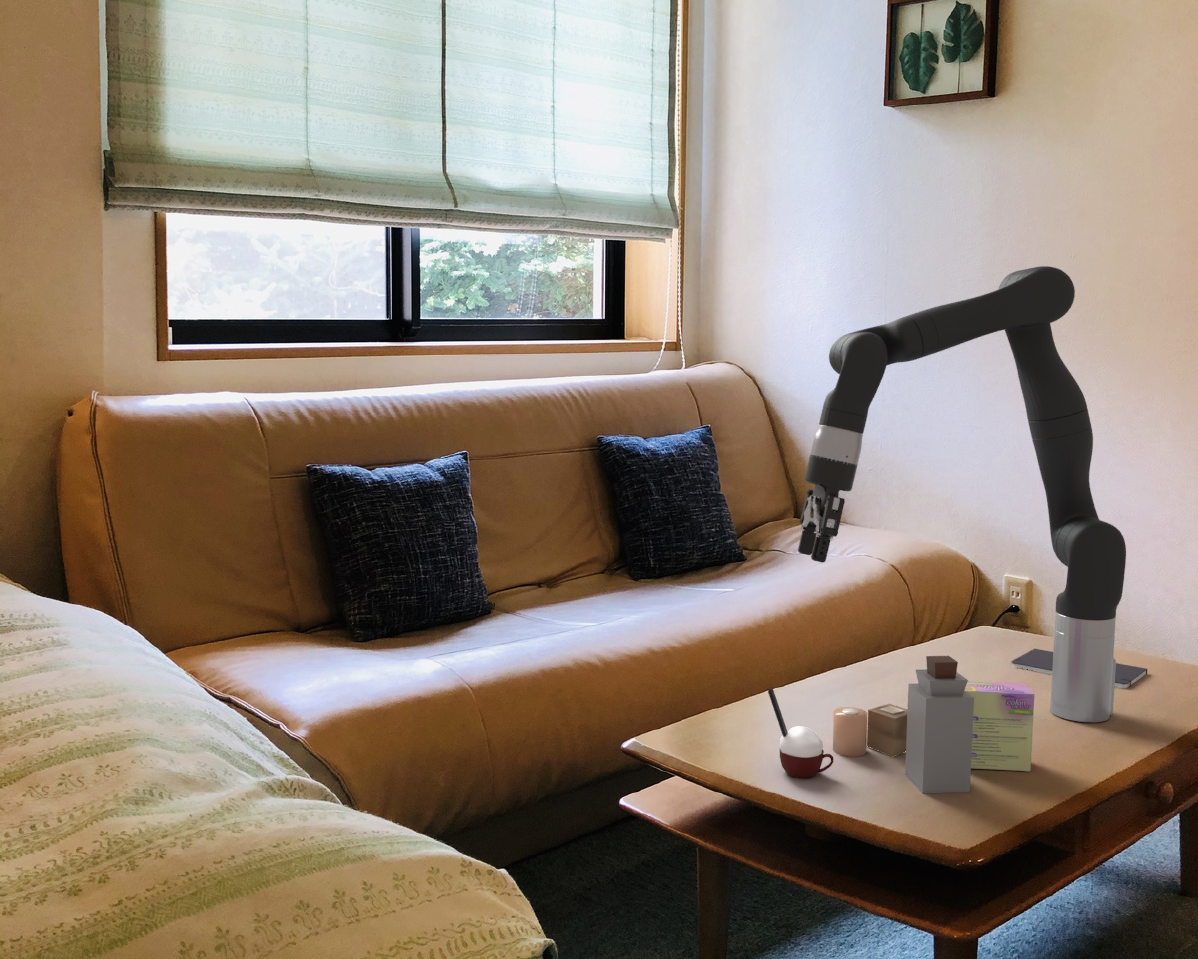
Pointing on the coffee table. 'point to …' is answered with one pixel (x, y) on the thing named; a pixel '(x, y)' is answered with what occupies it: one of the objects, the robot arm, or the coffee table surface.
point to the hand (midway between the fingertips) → (810, 557)
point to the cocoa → (799, 747)
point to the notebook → (1044, 664)
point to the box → (1001, 725)
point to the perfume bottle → (939, 728)
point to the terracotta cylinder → (849, 731)
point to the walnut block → (887, 729)
